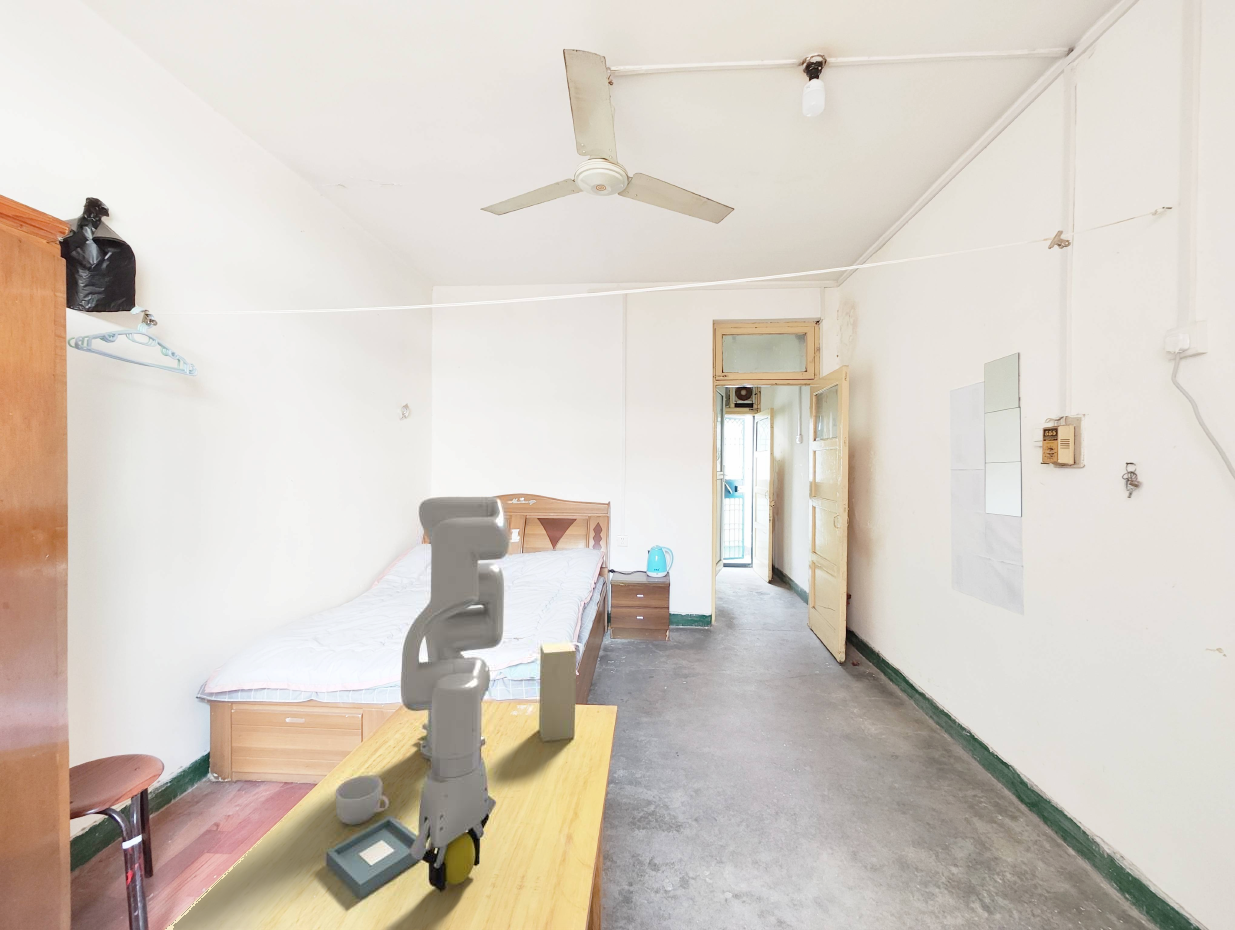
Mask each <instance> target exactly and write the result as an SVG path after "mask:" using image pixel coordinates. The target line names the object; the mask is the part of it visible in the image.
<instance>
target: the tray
mask: <svg viewBox="0 0 1235 930" xmlns="http://www.w3.org/2000/svg"><path fill="white" fill-rule="evenodd" d="M417 836H418V835H417V834H416V833H414V832H413V831H412V830H411V829H410V828H408V827H406V826H405V825H404V824H403V823H401V822H400V821H399V820H398V819H396V818H395V817H393V816H392V815H388V816H387V817H385V818H383V819H382V820H380V821H378V822H376V823H375V824H373V825H371V826H369V827H367V828H366V829H364V830H362V831H360V832H358V833H356V834H355V835H353V836H352V837H349V838H347V839H346V840H344V841H342V842H341V843H339V844H337V845H334V847H332V848H330V849H328V850H327V851H326V853H325V854H326V856H325V858H326V859H325V861H326V862H325V865H326V866H327V867H328V869H329V870H330V871H332V872H333V874H334V875H335V876H336V877H337V878H338V879H339V880H340V881H341V882H342V883H343V884H344V885H345V886H346V887H347V888H348V889H349V890H350V892H351V891H352V893H353V894H354V895H355V896H356V897H357V898H358V899H359V900H362V899H363V898H365V897H366V896H367V895H370V894H371V893H372V892H374V891H375V890H377V889H378V888H380V887H381V886H383V885H384V884H385V883H387V882H389V881H390V880H392V879H393V878H394V877H396V876H397V875H400V873H402V872H404V871H405V870H407V869H408V868H410V867H411V866H413V865H414V864H415V863H418V862H419V861H420V860H419V859H416V858H414V857H413V856H411V855H410V854H409V851H410V849H411V847H412V845H413V843H414V841H415V840H416V838H417ZM424 848H425V849H427V844H426V845H425V847H424Z"/></svg>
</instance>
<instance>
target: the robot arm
mask: <svg viewBox="0 0 1235 930" xmlns="http://www.w3.org/2000/svg"><path fill="white" fill-rule="evenodd" d="M418 517H419V518H418V519H419V521H420V525H421V527H422V530H423V531H424V533H425V535H426V537H427V539H428V541H429V544H430V546H431V547H430V548H431V556H430V557H431V559H430V560H431V562H430V599H429V602H428V604H427V605H426V606H425V608H424V609H422V611H421V612H420V613H419V615H417V617H416V618H415V619H414V621H413V623H411V625H410V627H409V629H408V631H407V633H406V636H405V639H404V642H403V647H402V653H401V654H402V655H401V672H400V675H401V676H400V696H401V697H400V698H401V702H402V704H403V706H404V707H405V708H406V709H407V710H409V711H412V712H422V711H427V722H424V723H423V724H422V727H421V728H422V729H423V730H425V731H426V738H424V740H422V742H421V743H420V747H419V748H420V755H421V756H422V757H423V758H424V759H427V760H429V761H430V770H429V771H426V773H425V776H424V780H423V783H422V788H421V795H420V803H419V810H418V811H419V813H418V826H417V827H418V835H417V838H416V840H415V841H414V843H413V845H412V847H411V849H410V851H409V854H410V855H411V856H413V857H414V858H416V859H419V861H422V862H424V863H427V864H428V883H429V885H430V886H431V887H434V888H435V889H436V890H438V891H439V892H440V893H442V892H444V891H445V889H446V886H447V885H446V884H447V883H446V864H445V863H444V862H443V858H444V854H445V850H446V847H447V844H448V843H449V842H451V841H452V840H454V839H455V838H457V837H458V836H460V835H462V834H463V833H464V832H466V833H467V834H469V835H470V837H471V838H472V840H473V843H474V848H475V861H474V866H475V867H477V866H478V865H479V864H480V857H481V855H480V854H481V839H482V837H483V836H484V833H485V831H484V828H485V827H486V824H487V823H488V820H489V819H490V815H491V813H492V812H493V810H494V808H495V807H496V804H497V801H496V800H495V799H494V798H493V797H491V796H490V795H489V790H488V789H489V788H488V777H487V770H486V765H485V760H484V758H483V756H482V747H483V746H485V745H486V739H485V737H484V736H482V716H483V715H482V708H483V707H482V703H483V700H484V698H485V696H486V693H487V692H489V691H488V690H489V688H490V682H491V674H490V671H491V670H490V667H489V666H488V665H487V663H486V661H485V660H484V659H482V658H481V657H476V656H475V657H473V656H471V657H469V656H468V657H465V656H464V655H463V654H462V652H467V651H468V652H469V651H475V650H476V651H477V650H478V651H479V650H486V649H487V650H488V649H493V648H495V647H497V646H498V645H500V643H501V641H502V639H503V636H504V635H503V633H504V605H505V603H504V602H505V599H504V598H505V580H504V574H503V570H502V569H501V567H500V566H499V565H498V564H495V563H492V562H482V563H481V562H480V563H479V561H492V560H495V561H496V560H502V559H503V558H505V557H506V555H507V554H508V551H509V547H510V531H509V530H510V529H509V526H508V525H509V524H508V520H507V517H506V512H505V509H504V505H503V503H502V501H501V500H500V499H499V498H497V497H495V496H494V497H493V496H439V497H431V498H427V499H424V500H423V501H421V503H420V504H419V506H418ZM473 606H480V607H473ZM424 638H425V644H426V645H425V646H426V653H427V661H423V662H422V661H421V662H420V651H421V645H422V643H423V640H424ZM427 844H428V845H427ZM425 845H426V849H425V848H424V847H425ZM474 866H473V867H474Z"/></svg>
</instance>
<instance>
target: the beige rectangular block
mask: <svg viewBox="0 0 1235 930" xmlns="http://www.w3.org/2000/svg"><path fill="white" fill-rule="evenodd" d="M539 654H540V655H539V656H540V658H539V659H540V664H539V707H538V708H539V711H538V715H539V716H538V729H539V734H540V737H541V741H542V742H552V741H559V740H568V739H573V738H575V732H576V730H575V729H576V728H575V727H576V726H575V724H576V682H577V681H576V679H577V677H576V675H577V674H576V673H577V651H576V649H575V646H574V645H573V643H572V642H571V641H570V642H567V641H566V642H555V643H554V642H553V643H542V644H540V653H539Z"/></svg>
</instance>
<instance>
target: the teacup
mask: <svg viewBox="0 0 1235 930" xmlns="http://www.w3.org/2000/svg"><path fill="white" fill-rule="evenodd" d="M382 793H383V781H382V779H381V778H380V777H378V776H376V775H372V774H371V775H369V774H368V775H359V776H356V777H351V778H349V779H347V780H346V781H344V782H342V783H341V784H340V785H338V787H337V788H336V790H335V795H334V796H335V804H336V805H335V806H336V813H337V816H338V819H339V820H340V821H341V822H342V823H344V824H347V825H351V826H352V825H359V824H362V823H364V822H366V821H368V820H369V819H371V818H372V817H373V816H374V815H375V814H376V813H381V812H383V811H385V810H386V809H387V808H388V807H389V805H390V804H389V799H388V797H387V796H385V795H383V794H382ZM381 800H382V801H384V804H385V806H384V807H380V804H381V802H382V801H381Z"/></svg>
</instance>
